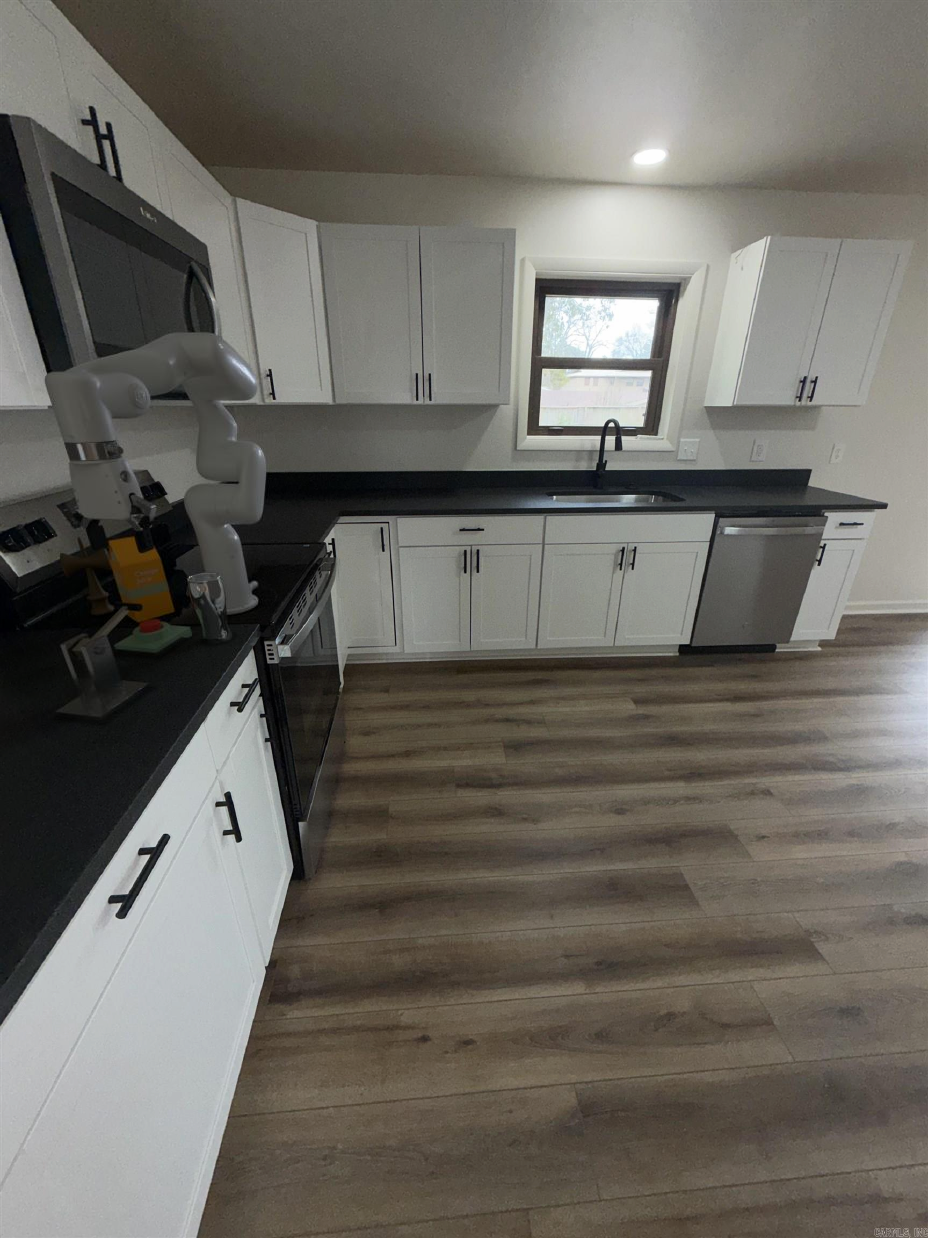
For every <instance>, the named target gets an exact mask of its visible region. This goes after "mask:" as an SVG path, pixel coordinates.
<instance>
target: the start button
mask: <svg viewBox="0 0 928 1238" xmlns="http://www.w3.org/2000/svg"><path fill="white" fill-rule="evenodd" d="M161 622H162V621H161V620H160V619H157V618H152V619H148V620H145V621H141V622H139V626H140V629H141V632H142V633H150V632H155V631H158V630H160V629H162V626H161ZM139 626H138V627H139Z"/></svg>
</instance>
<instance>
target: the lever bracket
mask: <svg viewBox="0 0 928 1238" xmlns="http://www.w3.org/2000/svg"><path fill="white" fill-rule="evenodd" d="M83 638H86V639H90V638H89V635H88V633H81V634H79V635H76V636H75V637H72V638H70V639H69V640H66V641H63V642H62V643H60V644H59V647H60V648H61V651H62V654H63V657H64V659H65V662H66V665H67V667H68V670H69V672H70V675H71V678H72V681H73V683H74V685H75V688H76V691H77V693H78V697H76V698H74V699H73V700H71V701H70V702H68V703H66V704H65V705H63V706H62V707H60V708H58V709H57V710H55V713H62V714H70V715H78V716H85V717H86V716H87V717H95V718H101V717H103V716H105V715H106V714H107V713H109V712H110V711H112V710H113V709H115V708H116V707H117V706H118V705H119V706H120V704H122V703H123V702H124V701H126V700H127V699H129V698H130V697H132V696H134V694H136V693H137V692H139V691H140V690H142V689H143V688H144V687H146V686H148V685H149V682H141V681H133V680H132V681H131V680H123V679H122V677H121V674H120V671H119V668H118V664H117V662H116V659H115V656H114V653H113V650H112V647H111V644H110V641H109V638H108V635H106V636H105V635H102V636H100V637H98V638H96V639H94V640H92V641H90V642H88V643H86V644H84V645H82V646H81V650H82V653H83V655H84V658H85V660H83V659H79V657H78V656H77V655H76V654H75V653H74V652H73V651H72V649H73V648H74V647H75V646H76V645H77V644H78V643H79V642H80V641H81V640H82V639H83Z"/></svg>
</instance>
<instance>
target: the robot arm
mask: <svg viewBox="0 0 928 1238" xmlns="http://www.w3.org/2000/svg"><path fill="white" fill-rule="evenodd" d="M254 371H255V370H253V368H252V366H251V365H250V363H248V362H247V360H246V359H245V358H244V357H243V356H242V355H240V353H239V352H238V351H237V350H236V349H235V348H234V347H233V346H232V345H231V344H230V343H228V341H226V340H225V339H224V338H222V337H221V336H219V335H217V334H216V333H214V332H213V333H212V332H208V331H207V332H206V331H205V332H204V331H203V332H202V331H201V332H171V333H167V334H164V335H163V336H160V337H159V338H156V339H155V340H152V341H151V342H148V343H147V344H144V345H142V346H140V347H137V348H135V349H130V350H125V351H122V352H118V353H115V354H112V355H111V354H110V355H107V356H103V357H98V358H95V359H91V360H87V361H85V362H82V363H79V364H77V365H75V366H73V367H71V368H68V369H66V370H64V371H51V372H48V373H47V374H45V376H44V385H45V388H46V392H47V394H48V398H49V401H50V404H51V408H52V410H53V414H54V416H55V420H56V423H57V426H58V429H59V432H60V435H61V438H62V441H63V444H64V448H65V450H66V453H67V457H68V461H69V462H68V469H69V477H70V482H71V487H72V491H73V494H74V497H73V498H71V499H69V500H68V501H66V503H65V506H66V508H68V510H69V511H70V513H71V514H73V518H74V519H75V520H76V521H77V522H78V523H79V524H80V527H81V528H82V529H84V530H85V533H86V536H87V540H88V542H89V545H90V549H91V551H100V550H101V549H103V548H105V549H106V548H108V547H109V542H108V541H109V540H108V537H107V534H106V531H105V528H104V526H103V524H100V523H101V521H117V522H118V521H126V523H128V525H130V526H131V527H132V528H133V529H134V531H133V532H132V535H133V536H134V538H135V542H136V545H137V549H138V552H139V553H145V552H147V551H150V550H153V549H154V547H155V545H154V541H153V537H152V534H151V528H152V527H153V523H154V521H155V520H156V511H157V506H156V505H155V504H153V503H152V502H150V501H148V500H146V499H145V498H144V496H143V493H142V491H141V487H140V485H139V482H138V480H137V477H136V475H135V472H134V470H133V469H132V466H131V464H130V463H129V461H128V460H127V459H124V458H123V454H124V448H123V447H122V446H121V445H120V444H119V440H118V437H117V432H116V430H115V426H114V422H113V419H117V420H118V419H120V420H121V419H122V420H124V419H128V420H129V419H137V418H140V417H143V416H144V415H145V414H146V413H147V412H148V411H149V409H150V406H151V397H155V396H160V395H164V394H167V393H169V392H171V391H173V390H174V389H176V388H177V387H178V386H179V385H182V387H183V389H184V391H185V393H186V395H187V397H188V399H189V400H190V403H191V404H192V406H193V408H194V410H195V412H196V415H197V417H198V435H197V445H196V454H195V455H196V456H195V467H196V471H197V473H198V474H199V476H200V477H201V478H203V479H205V480H208V481H213V482H238V483H198V484H195V485H192V486H190V487H189V488H188V489H187V490H186V492H185V493H184V496H183V503H184V508H185V511H186V514H187V517H188V518H189V520H190V522H191V525H192V527H193V530H194V533H195V536H196V540H197V544H198V548H199V553H200V557H201V562H202V565H203V569H204V573H205V572H216V573H219V574H220V575H221V579H222V582H223V586H224V589H225V594H226V602H227V616H231V615H237V614H241V613H245V612H248V611H250V610H252V609H254V608H255V607H256V606H258V604H259V598H258V596H256V595H254V594H253V590H255V589H256V588H258V587H259V583H258V581H256V580H253V581H251V582H249V579H248V574H247V569H246V564H245V558H244V553H243V548H242V547H243V546H242V543H241V539H240V537H239V535H238V533H237V532H236V530H235V529H234V527H233V526H232V525H254V524H256V523H258V522H259V521H260V520H261V519H262V516H263V511H264V504H265V493H266V492H265V491H266V481H267V480H266V479H267V461H266V457H265V454H264V451H263V450H262V448H261V447H260V445H258V444H257V443H255V442H253V441H249V440H238V424H237V422H236V420H235V419H234V417H233V416H232V414H231V413H230V412H229V410H228V409H227V408H226V407H225V406H224V405H223V403H222V402H230V401H231V402H245V401H250V400H252V399H253V398H255V396H256V394H257V392H258V380H257V376H256V373H255V372H254Z"/></svg>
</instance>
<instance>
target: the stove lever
mask: <svg viewBox="0 0 928 1238" xmlns="http://www.w3.org/2000/svg"><path fill="white" fill-rule="evenodd" d="M113 607H114V610H117V612H116V613H115V614H113V616H112V617H110V619H109V620H108V621H107V622H105V624H104V625H102V627H100V629H99V630H98V631H97V632H96V633H95V634H94V635H93V636H92V637H90V638H89V639H86V638H83V639H82V640H81V641H80V642H79V643H78V644H77V645H76V646H75V647H74V648H73V649H72V651H73V652H74V653H75V654H76V655H77V656H78V657H79V659H83V660H85V658H84V655H83V653H82V650H81V646H82V645H84V644H86V643H88V642H90V641H92V640H94V639H96V638H98V637H100V636H102V635H105V636H108V635H109V634H110V633H111V631H112V630H113V629H114V628H115V627H116V626H117V625H118V624H119V623H120V622H121V621H122V620H123V619H124V618H125V617H126V616H127V615H126V614H127V613H128V612H129V611H141V610H142V609H143V606H142V604H137V603H125V602H122V601H115V602H113Z"/></svg>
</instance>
